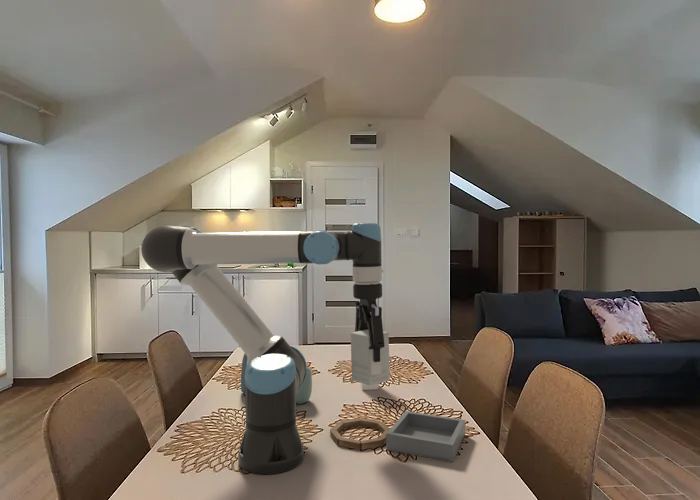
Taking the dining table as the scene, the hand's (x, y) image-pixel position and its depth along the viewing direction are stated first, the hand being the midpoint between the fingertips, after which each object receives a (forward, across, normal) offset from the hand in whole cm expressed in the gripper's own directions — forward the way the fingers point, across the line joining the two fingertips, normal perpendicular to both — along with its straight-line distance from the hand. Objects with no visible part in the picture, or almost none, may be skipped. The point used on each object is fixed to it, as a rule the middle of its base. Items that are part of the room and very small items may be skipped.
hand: (369, 368), depth 121 cm
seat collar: (+18, +1, +2) cm, 18 cm away
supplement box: (+3, 0, 0) cm, 3 cm away
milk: (+18, +38, -13) cm, 44 cm away
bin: (+18, -8, -12) cm, 23 cm away
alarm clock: (+17, +48, +21) cm, 55 cm away
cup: (+18, +31, +13) cm, 38 cm away
